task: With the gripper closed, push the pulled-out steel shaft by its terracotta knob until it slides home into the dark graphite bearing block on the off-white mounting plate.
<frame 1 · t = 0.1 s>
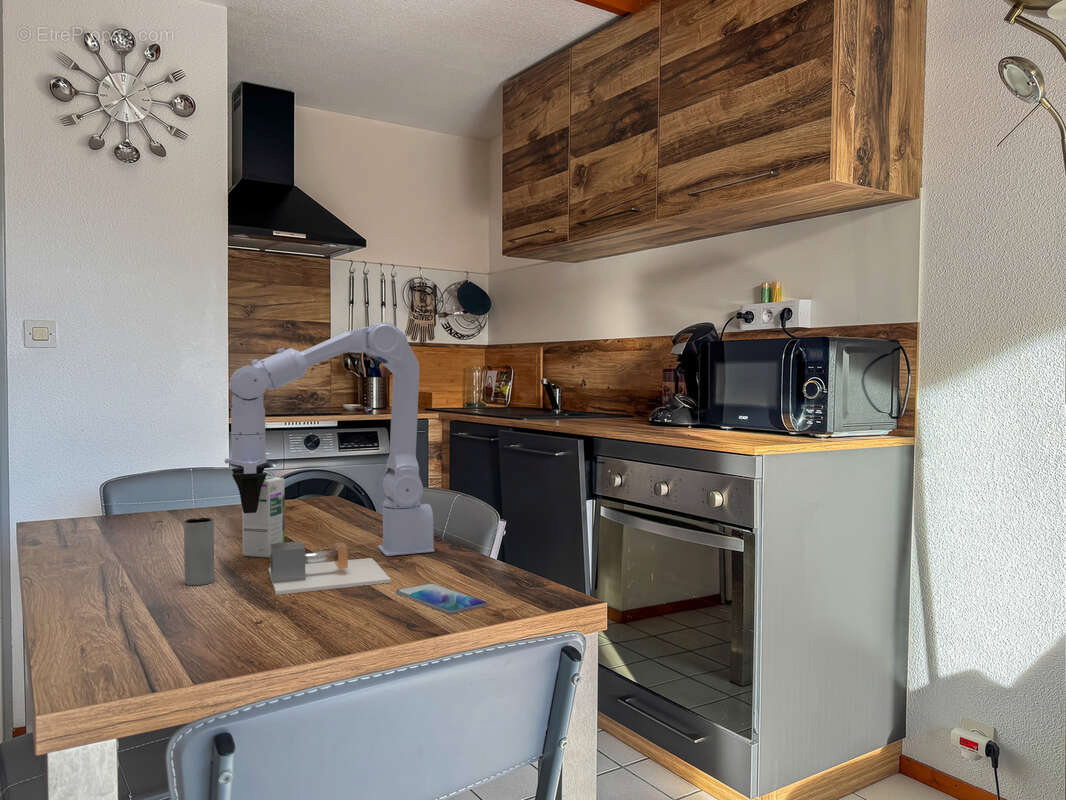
hand: (249, 509, 139), 10 cm above the table, tool pointing down, fingers open, 7 cm apart
grey cylinder: (199, 583, 128), on the table
shaft: (317, 557, 130), point 3 cm above the table, slide at 5.0 cm
bearing block: (287, 580, 129), resting on mounting plate
syrup box: (263, 554, 148), on the table, touching gripper
smartphone: (440, 602, 118), on the table
mounting plate: (327, 576, 131), on the table
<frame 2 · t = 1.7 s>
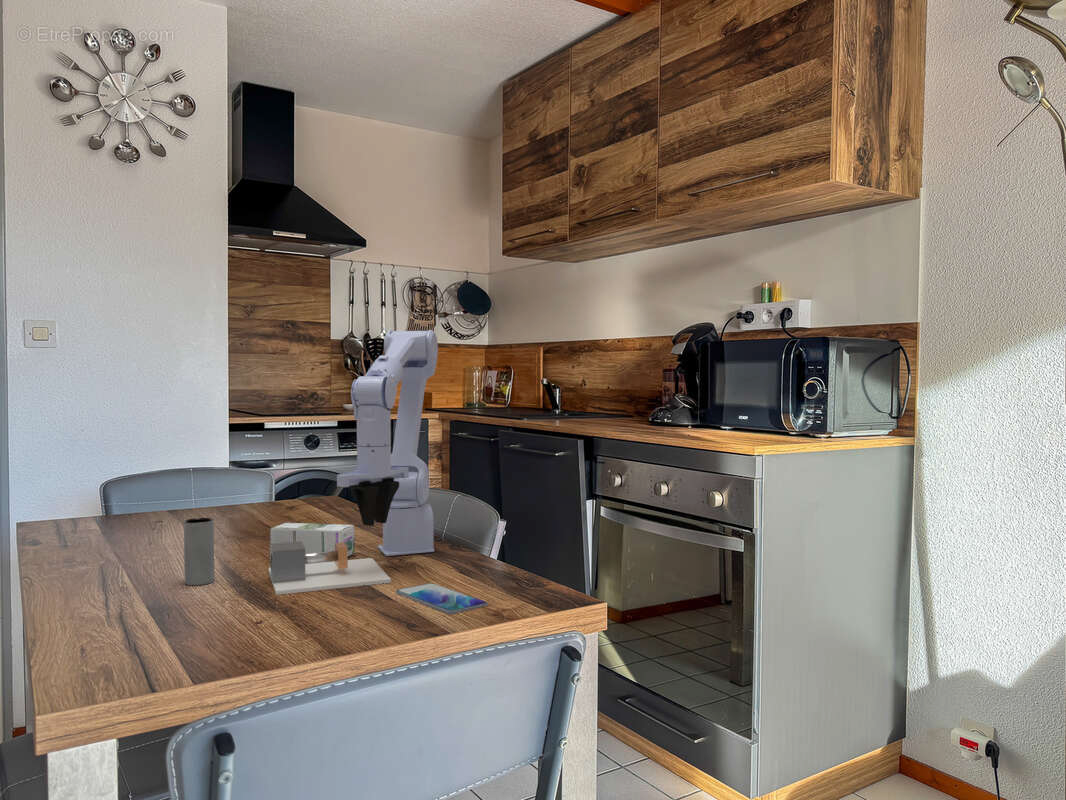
hand: (374, 523, 134), 8 cm above the table, tool pointing down, fingers closed
syrup box: (276, 539, 147), point 3 cm above the table
everything else where it was.
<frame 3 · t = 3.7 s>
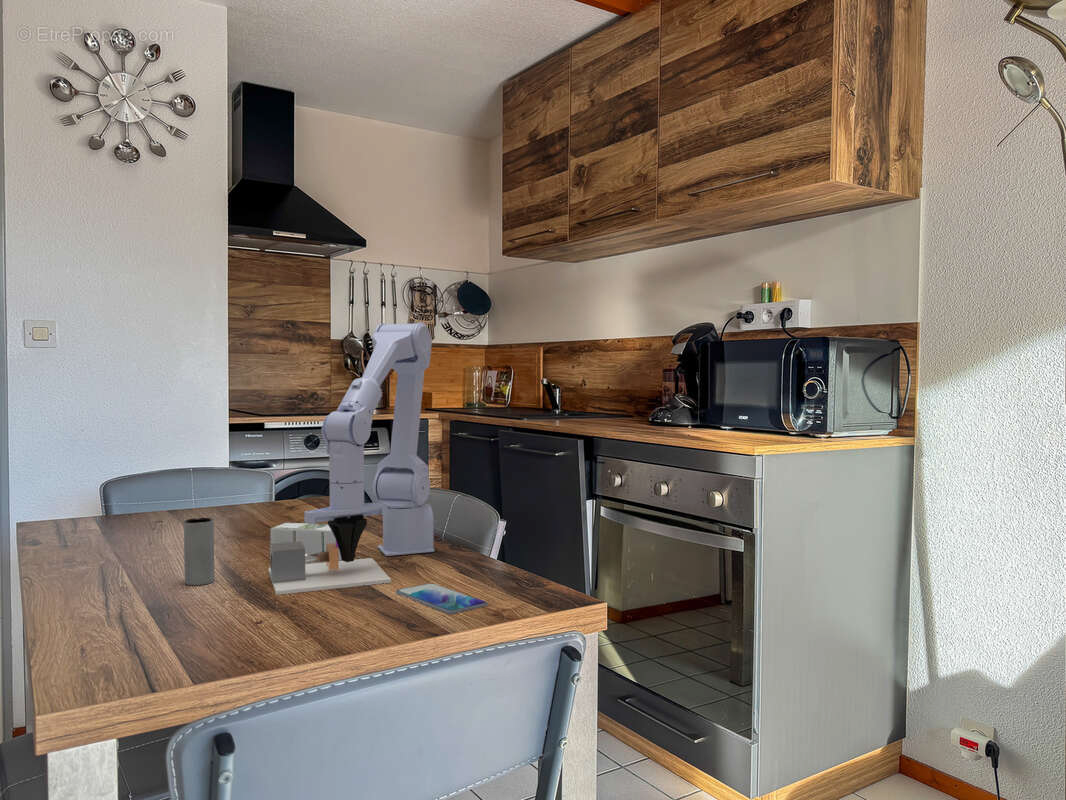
hand: (347, 560, 132), 2 cm above the table, tool pointing down, fingers closed
shaft: (307, 558, 130), point 3 cm above the table, slide at 3.5 cm, touching gripper
everything else where it was.
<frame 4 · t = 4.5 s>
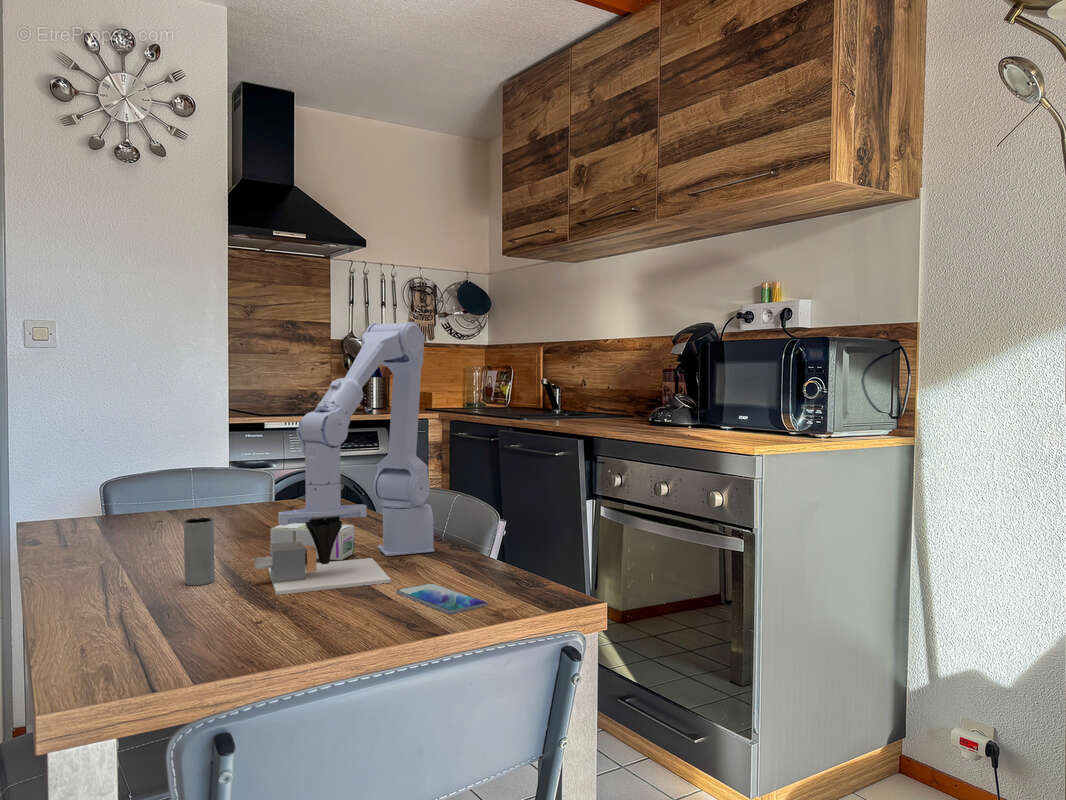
hand: (324, 563, 131), 2 cm above the table, tool pointing down, fingers closed
shaft: (285, 560, 128), point 3 cm above the table, slide at -0.1 cm, touching gripper
everything else where it was.
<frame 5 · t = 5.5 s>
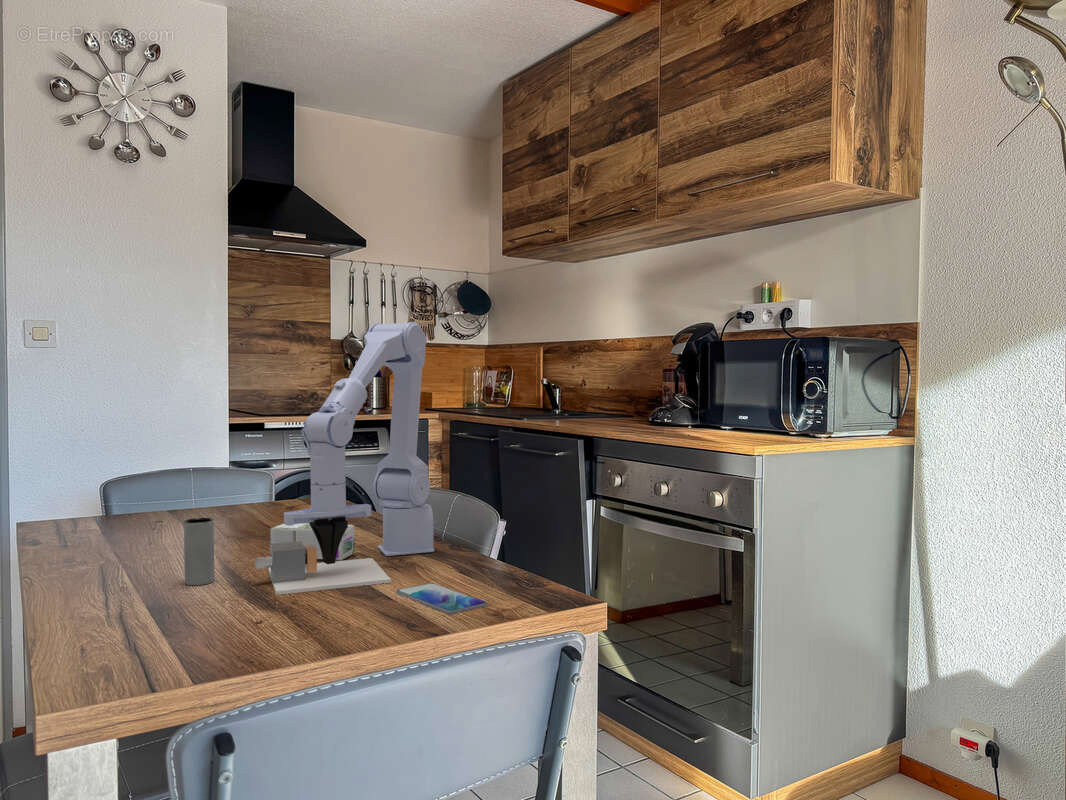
hand: (329, 562, 131), 2 cm above the table, tool pointing down, fingers closed
shaft: (285, 560, 128), point 3 cm above the table, slide at 0.0 cm
everything else where it was.
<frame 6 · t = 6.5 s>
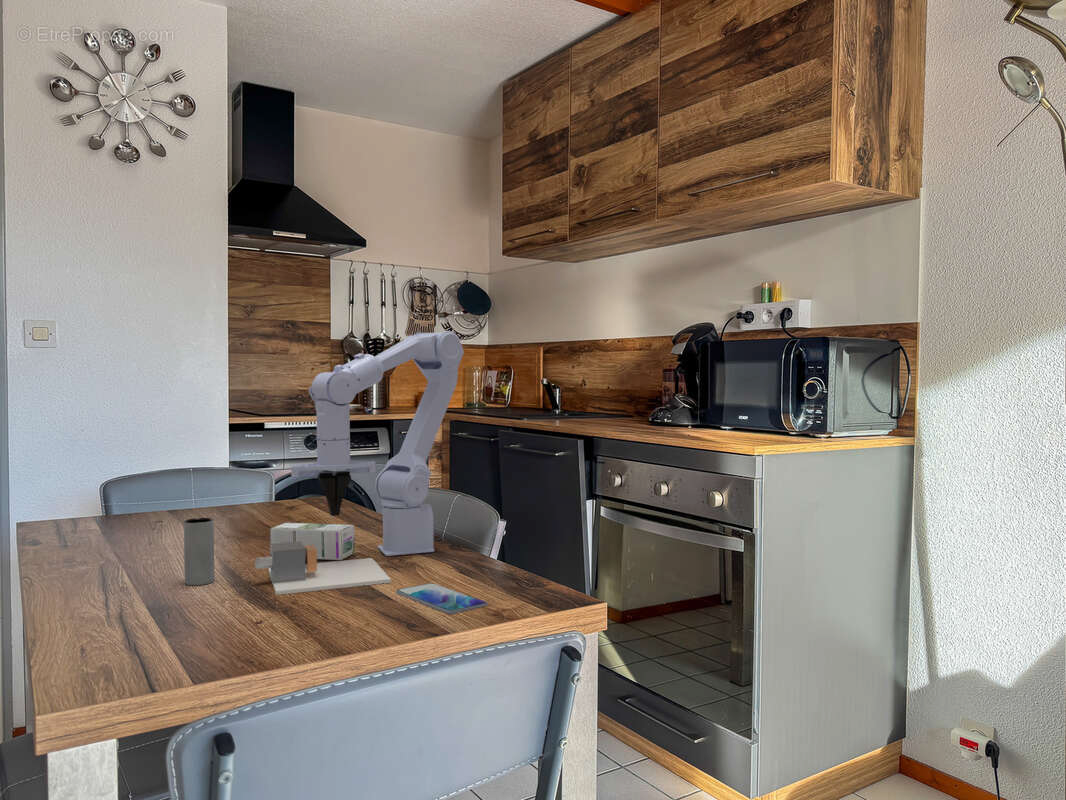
hand: (334, 514, 139), 9 cm above the table, tool pointing down, fingers closed
nothing on the table moved.
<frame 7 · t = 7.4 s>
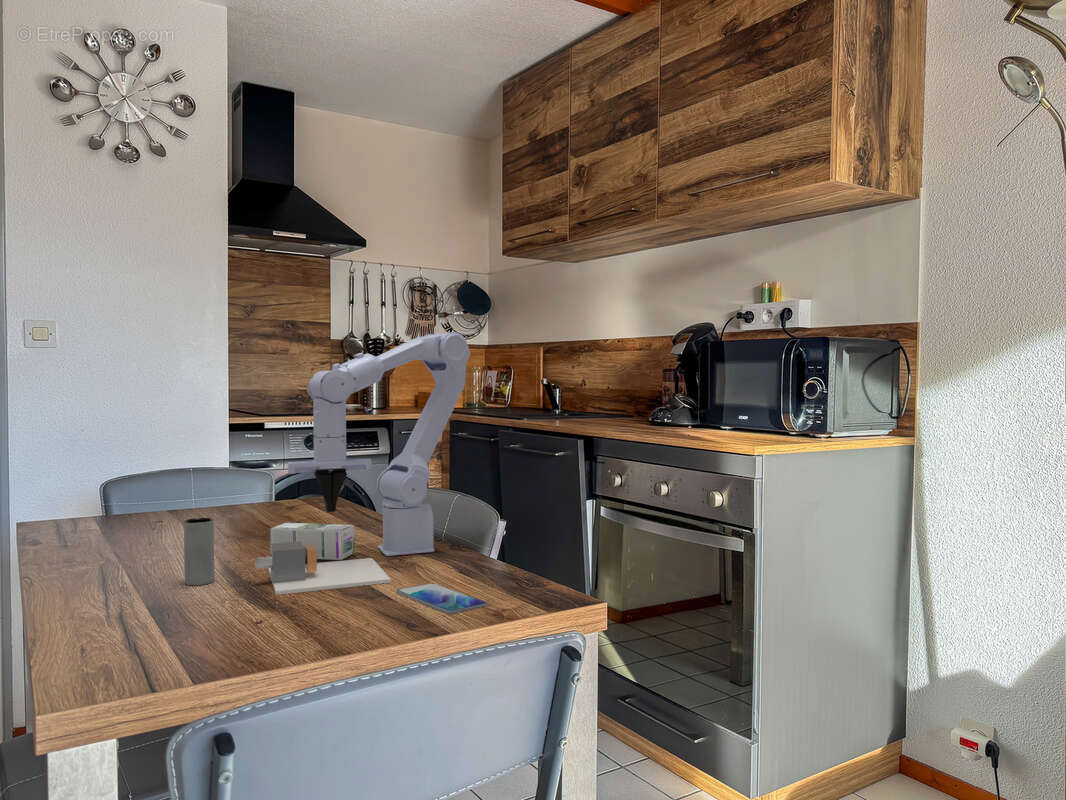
hand: (330, 511, 141), 9 cm above the table, tool pointing down, fingers closed
nothing on the table moved.
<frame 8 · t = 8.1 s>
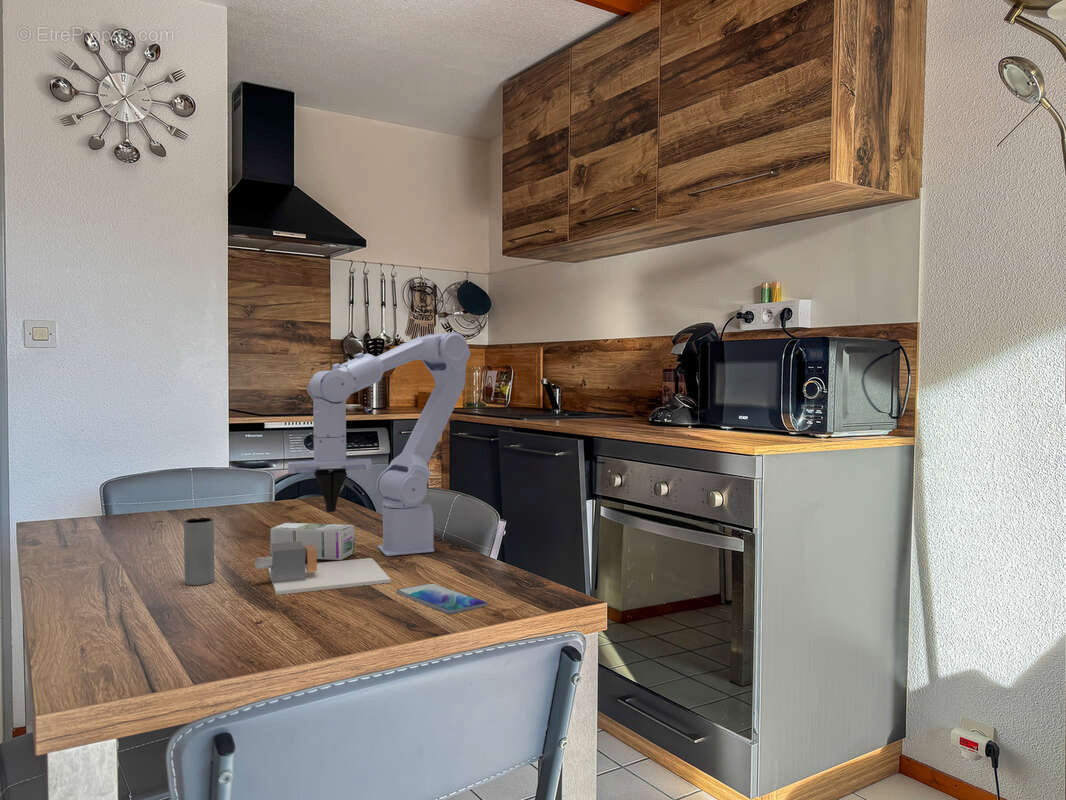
hand: (330, 511, 141), 9 cm above the table, tool pointing down, fingers closed
nothing on the table moved.
at the end: shaft slide at 0.0 cm; syrup box moved 4.1 cm from its start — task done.
